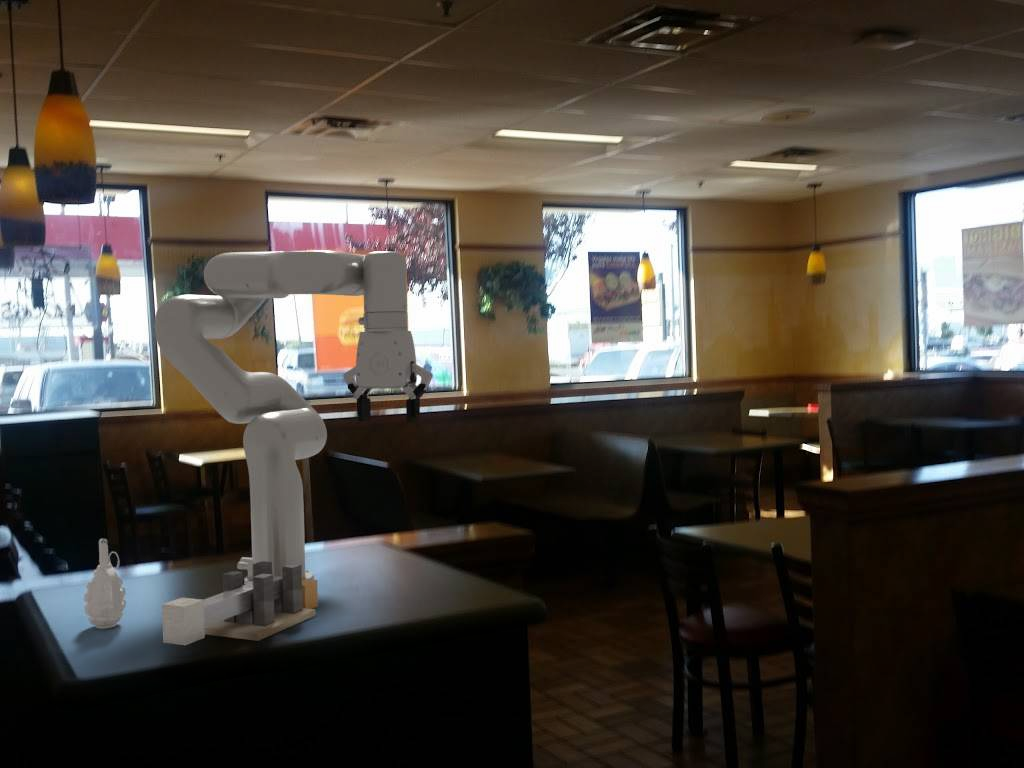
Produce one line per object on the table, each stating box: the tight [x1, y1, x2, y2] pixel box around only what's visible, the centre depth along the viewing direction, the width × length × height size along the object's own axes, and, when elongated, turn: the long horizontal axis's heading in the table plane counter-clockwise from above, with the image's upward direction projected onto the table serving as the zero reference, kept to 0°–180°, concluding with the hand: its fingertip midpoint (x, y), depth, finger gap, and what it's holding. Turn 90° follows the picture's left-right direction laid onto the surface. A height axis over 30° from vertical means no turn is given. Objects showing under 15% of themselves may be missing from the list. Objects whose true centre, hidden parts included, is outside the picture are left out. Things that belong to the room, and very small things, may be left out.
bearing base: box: [204, 561, 317, 642], centre depth 164 cm, size 11×15×8 cm
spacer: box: [302, 579, 319, 609], centre depth 174 cm, size 6×4×4 cm
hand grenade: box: [83, 538, 127, 630], centre depth 164 cm, size 8×6×14 cm
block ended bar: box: [161, 576, 283, 646], centre depth 158 cm, size 4×24×6 cm, turn 156°
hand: (388, 421), depth 181 cm, fingers open, 9 cm apart
